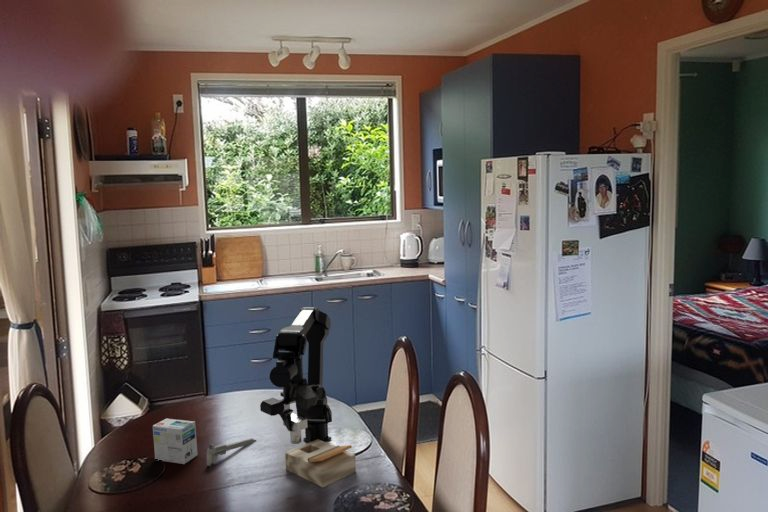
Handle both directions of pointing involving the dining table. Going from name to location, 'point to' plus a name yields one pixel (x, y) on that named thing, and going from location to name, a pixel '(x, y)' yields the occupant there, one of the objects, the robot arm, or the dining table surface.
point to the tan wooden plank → (328, 453)
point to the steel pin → (297, 428)
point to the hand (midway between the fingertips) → (295, 428)
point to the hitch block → (319, 463)
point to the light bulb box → (175, 440)
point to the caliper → (224, 449)
